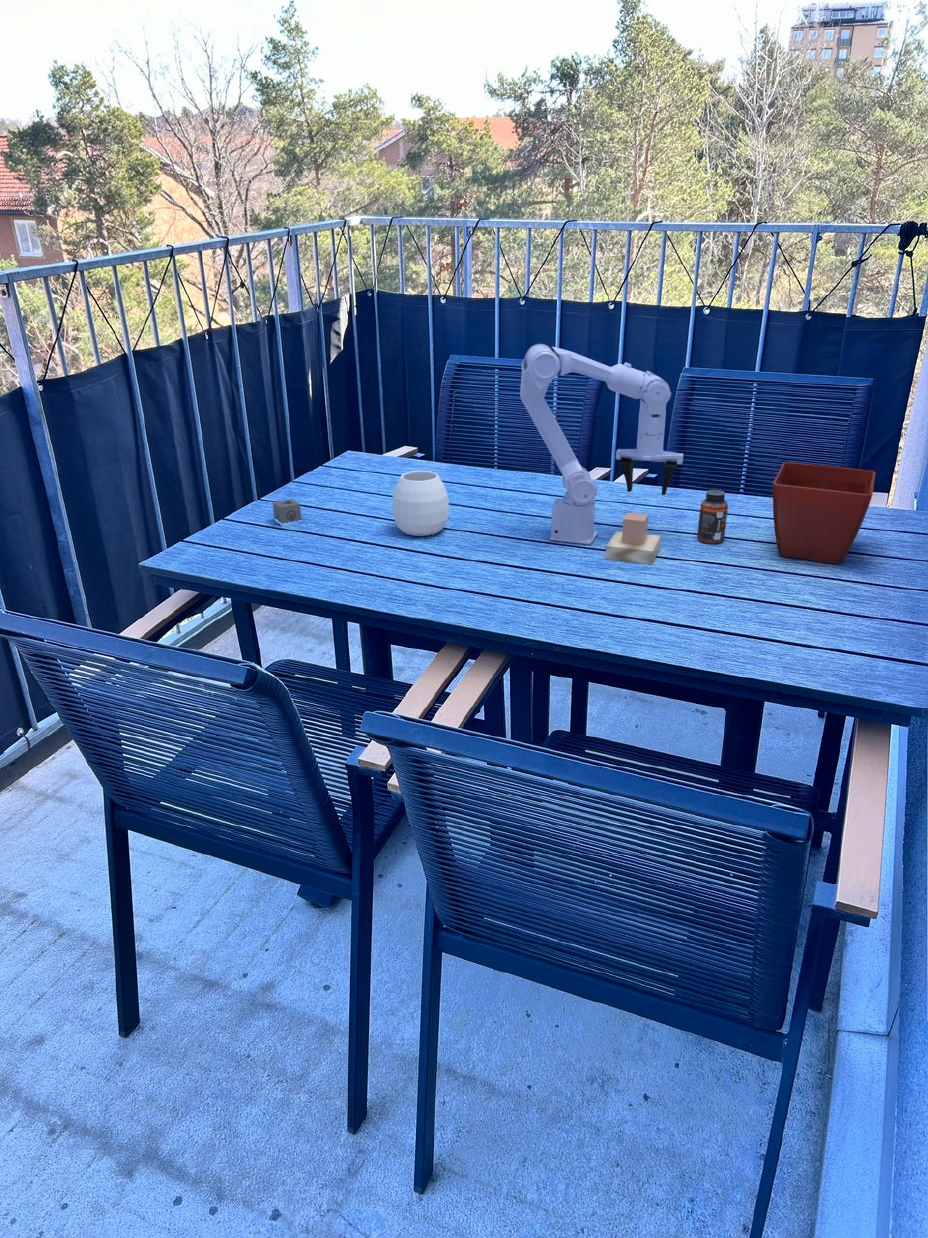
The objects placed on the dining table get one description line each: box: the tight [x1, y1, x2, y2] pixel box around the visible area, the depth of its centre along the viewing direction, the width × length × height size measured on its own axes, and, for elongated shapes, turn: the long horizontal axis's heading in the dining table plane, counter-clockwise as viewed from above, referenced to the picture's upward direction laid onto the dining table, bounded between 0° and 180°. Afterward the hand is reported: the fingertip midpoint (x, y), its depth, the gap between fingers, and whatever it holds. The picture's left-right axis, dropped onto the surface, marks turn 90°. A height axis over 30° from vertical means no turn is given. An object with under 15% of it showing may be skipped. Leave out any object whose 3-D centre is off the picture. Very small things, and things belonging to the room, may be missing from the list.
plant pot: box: [772, 461, 877, 565], centre depth 191 cm, size 19×19×17 cm
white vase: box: [391, 470, 450, 537], centre depth 207 cm, size 13×13×14 cm
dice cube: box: [272, 498, 302, 524], centre depth 216 cm, size 5×5×5 cm
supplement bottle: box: [697, 489, 729, 545], centre depth 199 cm, size 6×6×11 cm
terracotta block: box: [621, 512, 649, 545], centre depth 192 cm, size 4×4×6 cm
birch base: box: [605, 530, 662, 565], centre depth 194 cm, size 10×10×3 cm
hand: (646, 492), depth 200 cm, fingers open, 7 cm apart
